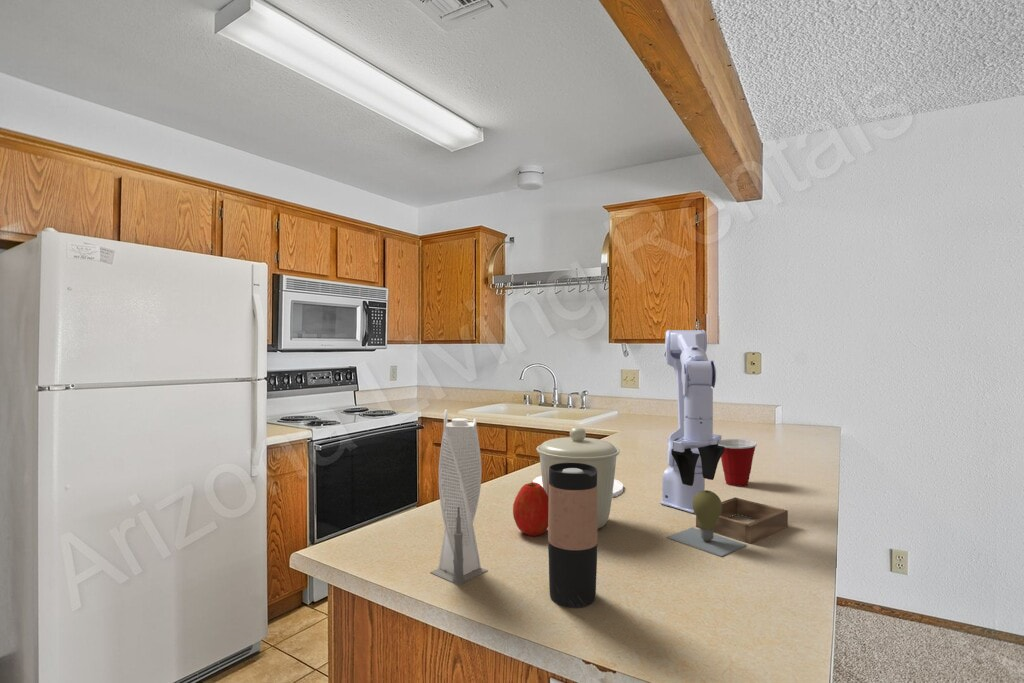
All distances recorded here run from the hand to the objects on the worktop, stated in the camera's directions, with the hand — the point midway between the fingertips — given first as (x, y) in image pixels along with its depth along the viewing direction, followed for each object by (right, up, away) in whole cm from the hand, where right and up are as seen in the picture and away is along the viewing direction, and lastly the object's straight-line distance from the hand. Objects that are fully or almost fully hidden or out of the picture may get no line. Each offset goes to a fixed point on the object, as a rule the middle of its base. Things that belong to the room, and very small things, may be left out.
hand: (698, 481), depth 110 cm
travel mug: (-30, -10, -29) cm, 43 cm away
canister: (-25, -10, +4) cm, 27 cm away
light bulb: (0, -10, -6) cm, 12 cm away
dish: (-21, -11, +34) cm, 41 cm away
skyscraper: (-49, -11, -19) cm, 53 cm away
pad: (-1, -10, -6) cm, 12 cm away
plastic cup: (+24, -11, +37) cm, 45 cm away
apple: (-35, -10, -1) cm, 37 cm away
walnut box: (+10, -10, +2) cm, 15 cm away
